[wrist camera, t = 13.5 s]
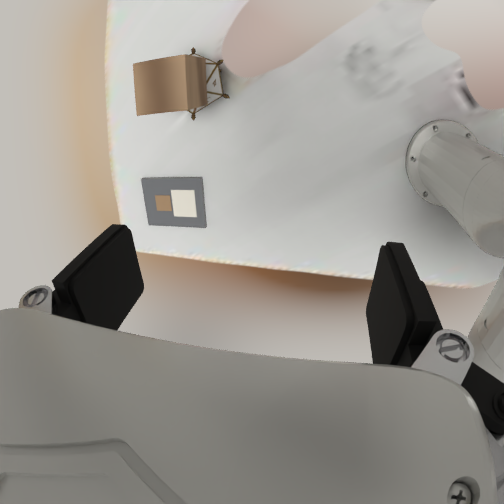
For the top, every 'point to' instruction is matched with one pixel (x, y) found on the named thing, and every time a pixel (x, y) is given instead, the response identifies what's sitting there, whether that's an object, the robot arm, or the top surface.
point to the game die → (210, 82)
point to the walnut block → (170, 84)
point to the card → (175, 201)
